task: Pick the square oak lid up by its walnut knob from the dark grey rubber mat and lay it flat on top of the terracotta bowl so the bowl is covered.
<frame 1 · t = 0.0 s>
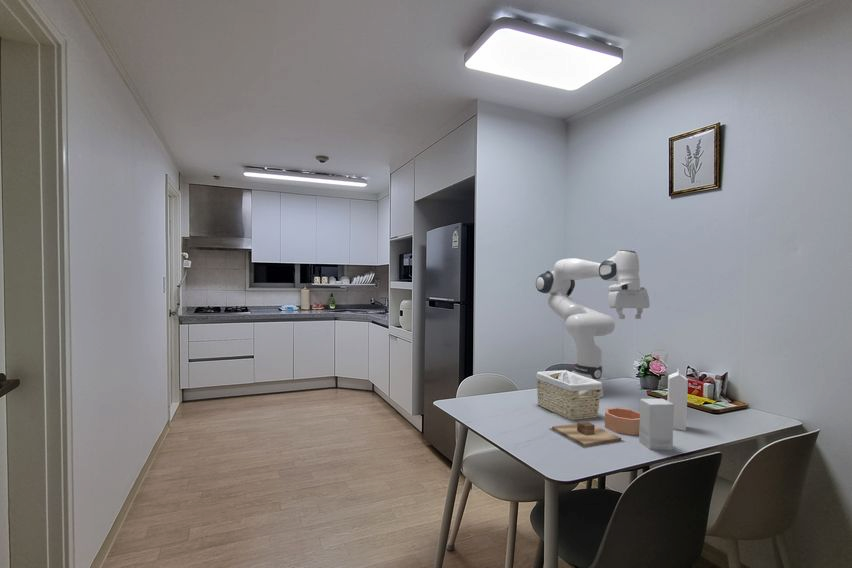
hand: (630, 319, 179), 39 cm above the table, tool pointing down, fingers open, 8 cm apart
milk: (675, 427, 159), on the table
skincare box: (655, 448, 139), on the table
rubber mat: (585, 436, 146), on the table
storage basket: (566, 411, 174), on the table
terracotta bowl: (623, 429, 154), on the table
oak lid: (585, 434, 146), point 1 cm above the table, touching rubber mat
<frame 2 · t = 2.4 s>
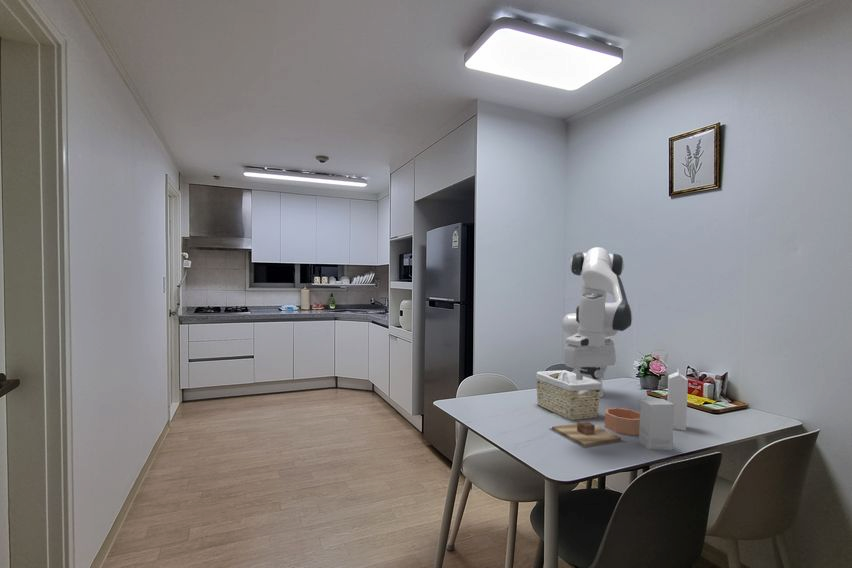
hand: (590, 379, 146), 20 cm above the table, tool pointing down, fingers open, 8 cm apart
nothing on the table moved.
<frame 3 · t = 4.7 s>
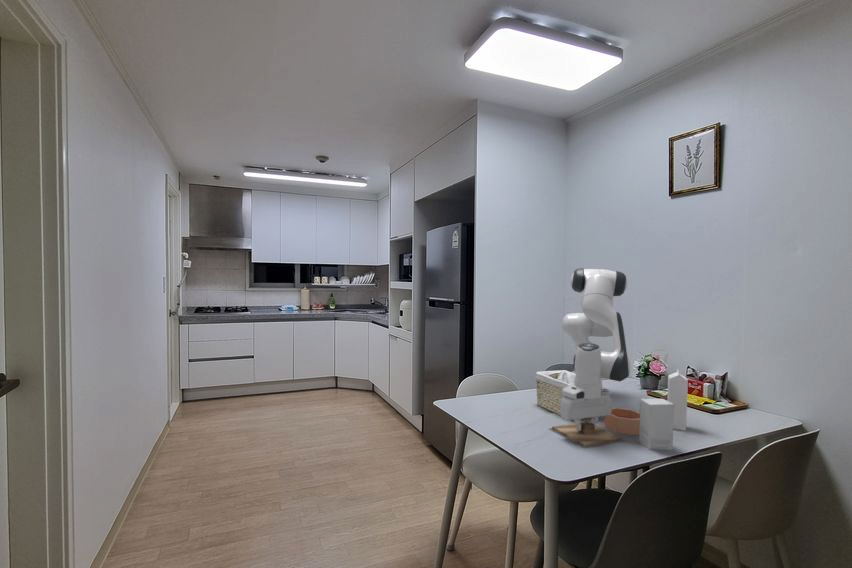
hand: (585, 429, 146), 3 cm above the table, tool pointing down, fingers closed on oak lid, 4 cm apart
oak lid: (585, 434, 146), point 1 cm above the table, touching gripper, rubber mat
everything else where it was.
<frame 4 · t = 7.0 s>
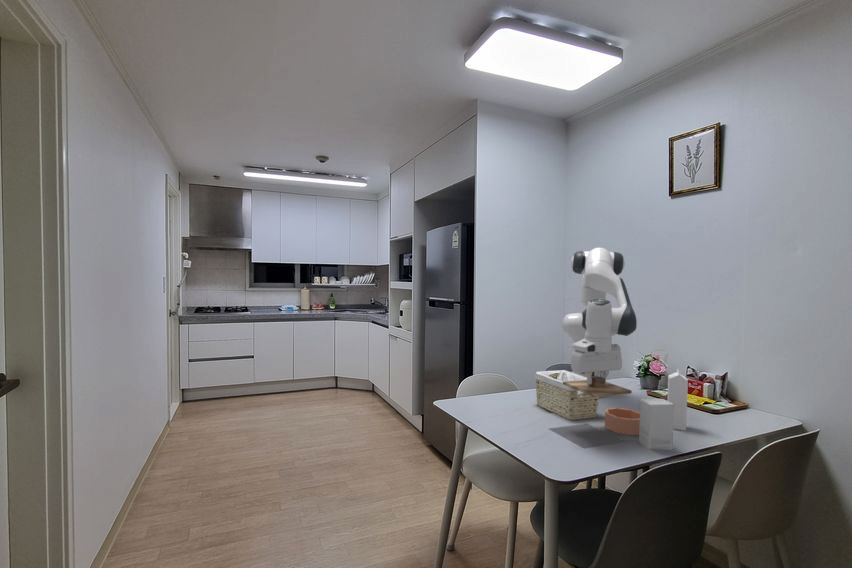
hand: (596, 383, 149), 18 cm above the table, tool pointing down, fingers closed on oak lid, 4 cm apart
oak lid: (596, 388, 149), point 16 cm above the table, touching gripper
everything else where it was.
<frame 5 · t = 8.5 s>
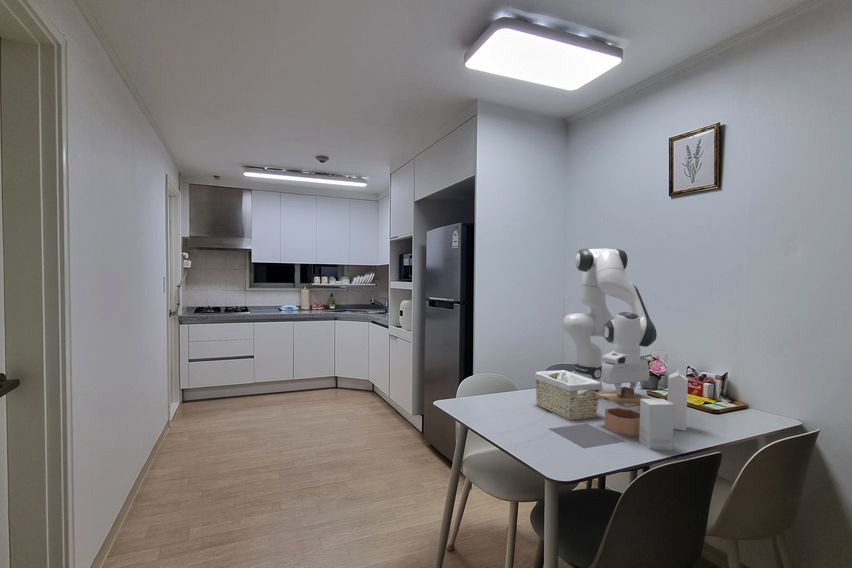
hand: (625, 394, 154), 13 cm above the table, tool pointing down, fingers closed on oak lid, 4 cm apart
oak lid: (625, 399, 154), point 11 cm above the table, touching gripper
everything else where it was.
when the fingers open (10 cm above the table, at t = 9.5 s): oak lid drops 2 cm, resting on terracotta bowl.
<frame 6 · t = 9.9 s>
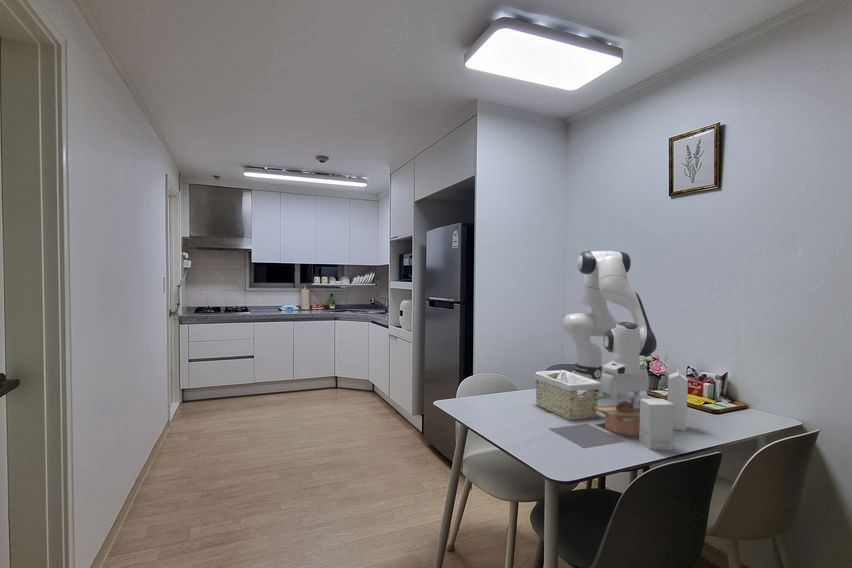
hand: (624, 403, 154), 10 cm above the table, tool pointing down, fingers open, 7 cm apart
oak lid: (624, 413, 154), point 6 cm above the table, touching terracotta bowl
everything else where it was.
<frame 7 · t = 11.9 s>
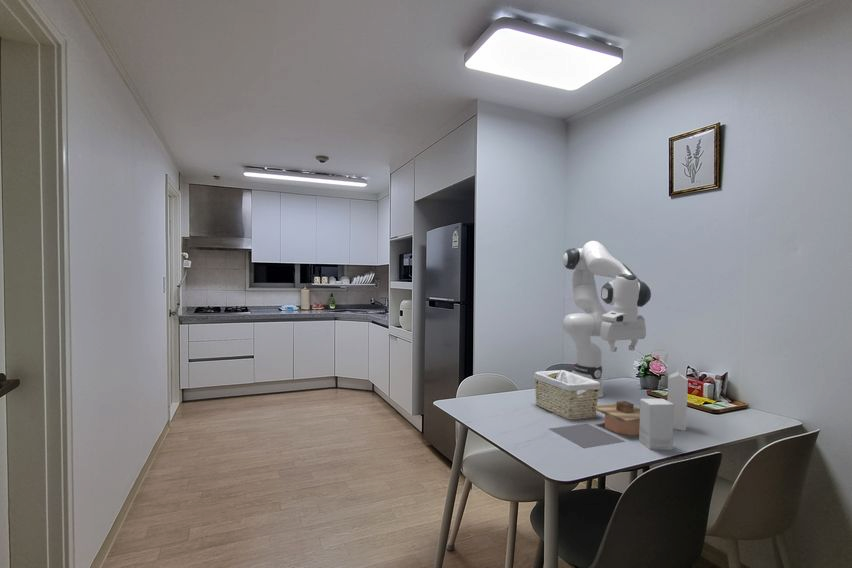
hand: (622, 350, 164), 28 cm above the table, tool pointing down, fingers open, 8 cm apart
nothing on the table moved.
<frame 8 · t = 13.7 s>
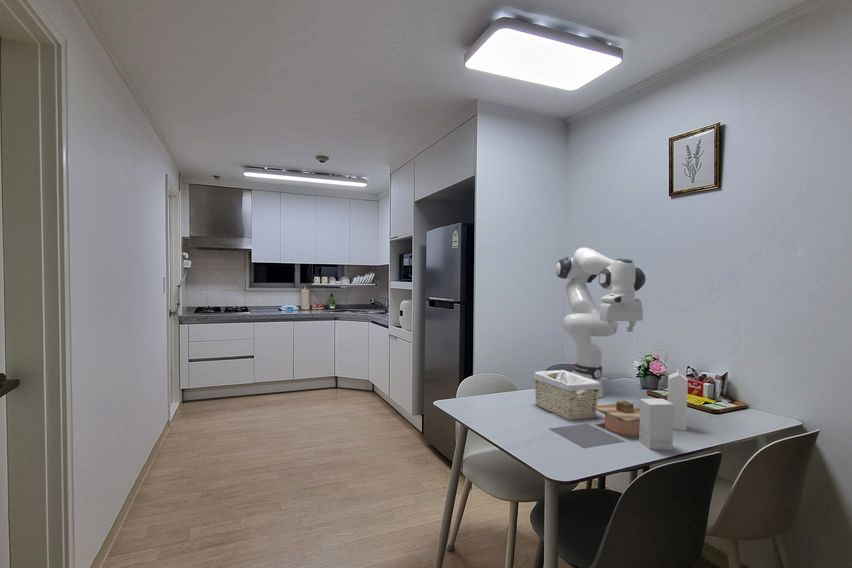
hand: (621, 331, 171), 34 cm above the table, tool pointing down, fingers open, 8 cm apart
nothing on the table moved.
at the end: oak lid 0.0 cm off-centre on the terracotta bowl, point 6.0 cm above the terracotta bowl's base; oak lid tilted 0°; the gripper is holding nothing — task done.
